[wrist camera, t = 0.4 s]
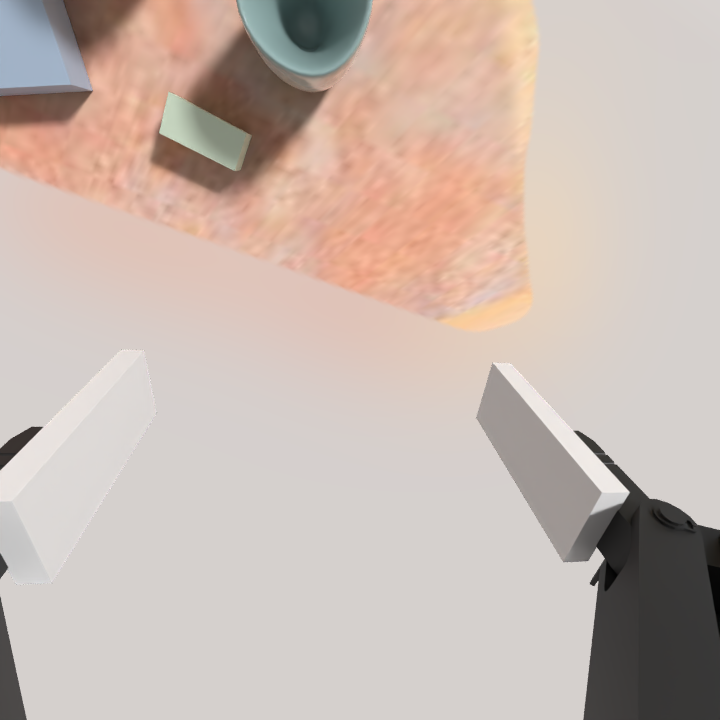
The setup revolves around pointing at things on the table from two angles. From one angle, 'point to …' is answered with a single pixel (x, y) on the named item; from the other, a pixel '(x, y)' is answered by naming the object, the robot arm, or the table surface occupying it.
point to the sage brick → (204, 132)
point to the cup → (307, 37)
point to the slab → (39, 49)
